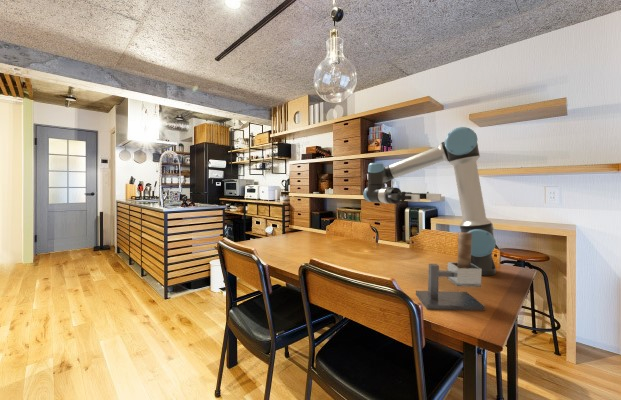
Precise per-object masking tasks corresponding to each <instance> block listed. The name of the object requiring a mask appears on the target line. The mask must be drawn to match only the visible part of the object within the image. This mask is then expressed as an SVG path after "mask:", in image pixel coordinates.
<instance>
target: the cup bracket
mask: <svg viewBox="0 0 621 400" xmlns="http://www.w3.org/2000/svg"><path fill="white" fill-rule="evenodd" d="M481 274H482V269H481V268H479V267H477V266H476V265H474V264H472V263H471V268H458V267H457V261H448V262H447V270H440V265H438V264H437V263H428V276H427V277H428V280H427V282H428V283H427V285H428V286H427V290H415V296H416V297H417V298H418V299H419V301H420V302H421V304H422V305H423V306H424V307H425V309H426V310H437V311H438V310H442V311H443V310H444V311H445V310H446V311H473V312H474V311H475V312H477V311H479V312H485V310H486V309H485V305H484V304H483V303H481V302H479V300H477V299H476V298H474V296H473V295H471V294H470V293H468V291H446V290H444V291H442V290H441V291H439V282H440V281H439V280H440V279H439V278H441V277H444V278H445V277H446V278H447V280H449V281H450V283H452V284H453V285H455V286H456V287H463V288H466V287H468V288H469V287H470V288H481V287H482V275H481Z"/></svg>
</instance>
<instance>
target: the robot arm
mask: <svg viewBox="0 0 621 400" xmlns="http://www.w3.org/2000/svg"><path fill="white" fill-rule="evenodd" d="M480 157H481V156H480V150H479V144H478V135H477V133H476V132H475V131H474V130H473V129H471V128H469V127H466V126H459V127H456V128H453V129H452V130H451V131H450V132H449V133H448V134H447V135H446V137H445V140H444V141H442V142H440V143H439V144H438V145H437V146H436V147H433V148H430V149H427V150H425V151H422V152H420V153H417V154H415V155H412V156H410V157H407V158H404V159H402V160H400V161H397V162H394V163H391V164H389V165H386V166H385V165H384V163H382V162H370V163H369V164H368V167H367V187H366V188H364V190H363V193H362V195H363V199H364V200H365V201H367V202H370V203H378V204H379V203H381V204H384V205H387V204H390V205H392V204H393V205H397V204H399V203H405V201H407V202H420V200H426V201H428V200H429V201H441V200H442V193H429V191H427V192H426V193H423V192H422V193H419V192H418V193H417V192H416V193H415V192H412V191H401V189H400V188H399V187H388V186H387V187H385V186H384V183H387V182H390V181H391V180H393V179H397V178H399V177H402V176H405V175H407V174H410V173H413V172H416V171H419V170H422V169H425V168H427V167H430V166H434V165H436V164H439V163H441V162H444V161H446V162H448V163H449V164H451V165H452V166H453V169H454V175H455V182H456V186H457V193H458V197H459V198H458V199H459V200H458V201H459V204H460V210H461V218H462V221H461V223H459V227H460V228H459V229H460V232H467V233H472V243H471V263H472V264H474V265H476V266H477V267H479V268H481V269H482V274H481V276H494V275H496V273H497V268H496V264H495V262H494V258H493V251H494V250H495V248H496V245H497V243H496V239H495V236H494V226H493V222H492V221H491V220H489V219H487V216H486V209H485V202H484V198H483V192H482V186H481V182H480V176H479V175H480V174H479V169H478V163H477V161H478V160H479V158H480Z"/></svg>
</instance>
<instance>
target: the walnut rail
mask: <svg viewBox="0 0 621 400" xmlns="http://www.w3.org/2000/svg"><path fill="white" fill-rule="evenodd" d="M471 243H472V233H467V232H461V231H459V232H458V237H457V258H456V259H457V261H456V262H457V267H458V268H471Z"/></svg>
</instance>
